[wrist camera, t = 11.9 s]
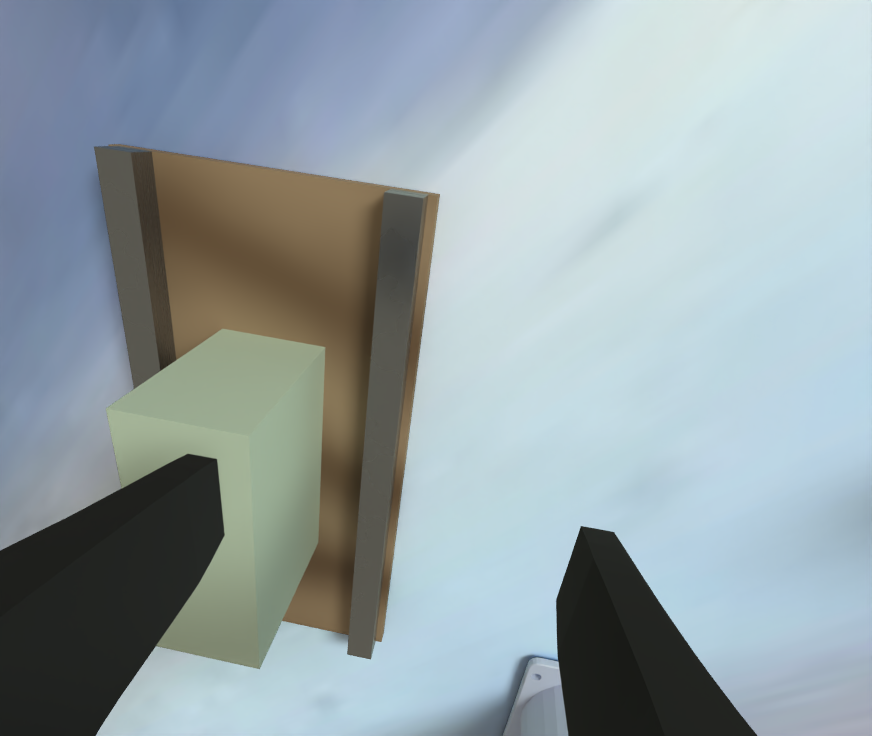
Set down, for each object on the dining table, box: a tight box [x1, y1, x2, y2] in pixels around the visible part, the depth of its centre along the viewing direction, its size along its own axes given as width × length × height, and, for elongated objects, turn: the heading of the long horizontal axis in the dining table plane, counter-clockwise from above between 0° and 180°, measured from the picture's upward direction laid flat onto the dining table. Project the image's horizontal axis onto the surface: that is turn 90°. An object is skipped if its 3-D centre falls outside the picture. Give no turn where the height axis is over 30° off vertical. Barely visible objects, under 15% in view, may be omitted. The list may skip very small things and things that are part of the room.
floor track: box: [94, 144, 440, 659], centre depth 20 cm, size 22×11×2 cm, turn 172°
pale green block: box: [106, 329, 325, 669], centre depth 18 cm, size 10×4×6 cm, turn 172°
